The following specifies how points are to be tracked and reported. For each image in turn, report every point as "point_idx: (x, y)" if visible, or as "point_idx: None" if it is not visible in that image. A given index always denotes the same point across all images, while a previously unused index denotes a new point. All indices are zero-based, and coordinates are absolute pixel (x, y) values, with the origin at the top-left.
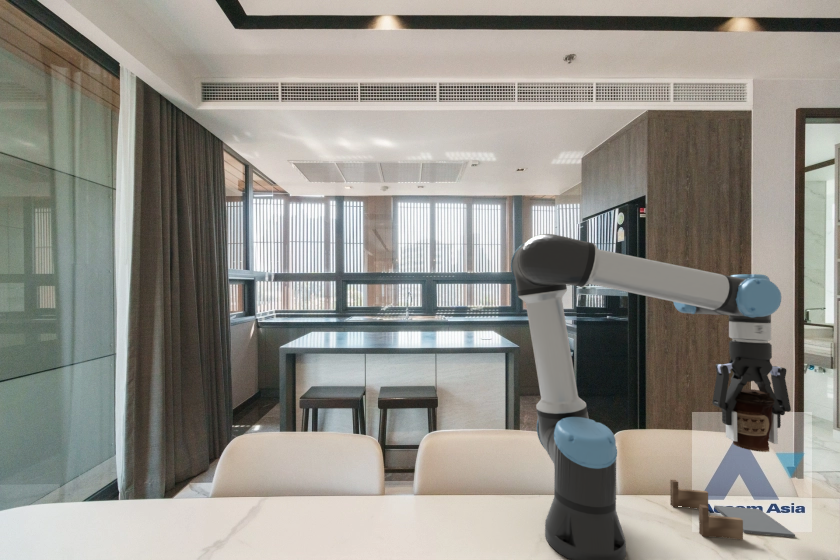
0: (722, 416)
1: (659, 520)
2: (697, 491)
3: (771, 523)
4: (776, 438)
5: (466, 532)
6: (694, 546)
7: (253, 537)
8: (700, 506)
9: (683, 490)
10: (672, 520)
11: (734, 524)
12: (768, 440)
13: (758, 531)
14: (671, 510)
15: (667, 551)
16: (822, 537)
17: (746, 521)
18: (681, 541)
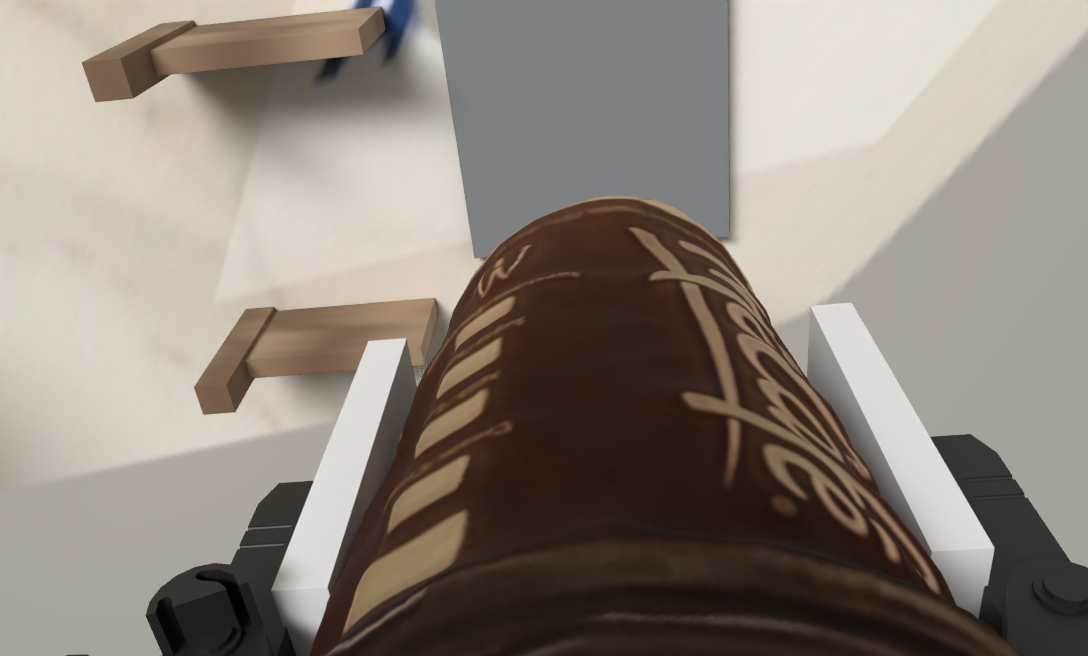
0: (239, 557)
1: (71, 237)
2: (291, 56)
3: (678, 146)
4: None
5: None
6: (194, 414)
7: None
8: (200, 395)
9: (195, 69)
10: (139, 220)
11: None
12: (809, 360)
13: None
14: (154, 103)
15: (78, 469)
16: (886, 192)
17: (538, 161)
18: (147, 391)
